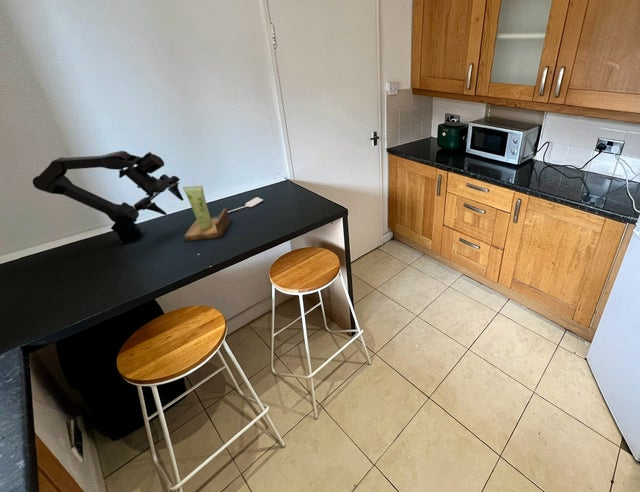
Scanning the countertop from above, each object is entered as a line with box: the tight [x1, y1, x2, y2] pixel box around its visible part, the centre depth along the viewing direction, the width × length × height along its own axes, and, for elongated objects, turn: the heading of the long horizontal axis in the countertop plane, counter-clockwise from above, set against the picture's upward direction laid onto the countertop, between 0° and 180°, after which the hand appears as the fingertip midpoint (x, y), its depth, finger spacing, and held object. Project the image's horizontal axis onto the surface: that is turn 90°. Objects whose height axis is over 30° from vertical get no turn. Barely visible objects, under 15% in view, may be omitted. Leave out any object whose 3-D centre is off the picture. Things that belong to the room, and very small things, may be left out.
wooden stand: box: [184, 207, 231, 242], centre depth 138 cm, size 14×14×7 cm
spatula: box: [210, 196, 264, 219], centre depth 156 cm, size 6×29×2 cm, turn 145°
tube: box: [182, 185, 212, 229], centre depth 134 cm, size 6×5×20 cm
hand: (174, 207), depth 133 cm, fingers open, 9 cm apart
